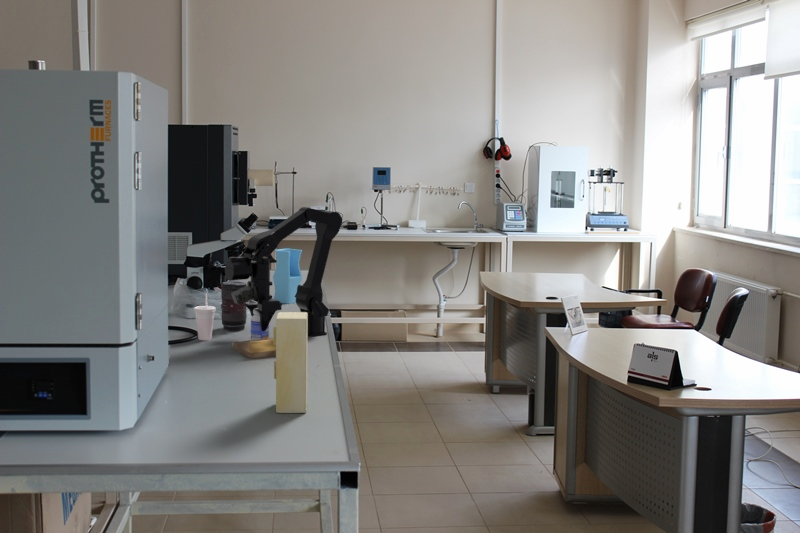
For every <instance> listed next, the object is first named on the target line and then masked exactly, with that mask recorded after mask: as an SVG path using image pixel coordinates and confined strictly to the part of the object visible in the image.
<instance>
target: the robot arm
mask: <svg viewBox="0 0 800 533" xmlns="http://www.w3.org/2000/svg"><path fill="white" fill-rule="evenodd" d="M308 222H311V223H314V224H315V225H314V227H315V228H314V230H315V234H316V240H315V242H314V243H315V244H314V248H313V252H312V255H311V258H310V263H309V266H308V272H307V275H306V279H305V281H304V283H303V284H302V285H301V284H300V285H298V287H297V293H296V295H295V297H296V303H295V304H296V306H297V307H298V308H299V312H307V313H308V336H307V337H313V336H315V337H316V336H322V335H328V332H326V328H325V327H326V324H325V323H326V317H327V316H328V315H329V311H330V309H329V308H328V306H326V305H325V303H323V299H324V298H323V297H324V293H323V287H322V282H323V277H324V273H325V272H326V271H325V270H326V267H327V266H326V265H327V262H328V258H329V255H330V250H331V246H332V242H333V240H334V239H335V238H336V236H337V235H338V234H339V232H340V229H341V227H342V224H343V217H342V215H341V213H339V212H337V211H331V210H326V209H325V210H319V209H315V208H313V207H308V206H302V207H300V208H299V209H298V210H297V211H296V212H295V213H293V214H291V215H290V216H289V217H287V218H286V219H284V220H282V221H281V222H280V223H278V224H277V225H275V226H273V227H272V228H271V229H269V230H266V231H262V232H259V233H258V234H255V235H253V236H251V237H250V238H249V239H248V240H247V241H248V242H247V246H246V247H245V249H244V250H243V251H242V253H241V255H240V256H229V257H228V261H227V262H226V264H225V267H224V274H225V277H226V280H228V281H240V280H241V281H242V280H248V279H249V278H250V280H248V281H247V282H246V284H247V287H244V288H241V289H239V290H237V291H234V292H232V293H231V295H232V298H233V300H234V303H236V304H238V305H241V304H243V303H244V302H246V304H244V306H246V309H248V310H249V313H250V316H251V317H252V316H254V314H253V309H255V308H258V309H255V310H256V311H257V312H258V313H259V315H260V322H261V329H262V331H266V329H267V327H268V325H269V326H270V323H271V321H272V319H273V317H274V315H275V314H276V312H278V311H281V310H282V307H283V306H282V304H283V303H281V302H280V301H278V300H276V299H274V298H273V295H272V294H270V293H271V291H270V290H271V287H270V286H273V281H271V264H274V263H275V264H277V259H276V258H274V257H273V255H272V253H273V252H274V251H275V250H277V248H278V247H279V245H280V243H281V242H282V241H283V240H285V239H286V238H287V237H288V236H290V235H292V234H293V233H294V232H296V231H297V230H299V229H300V228H302V227H303V226H304V225H306V224H307V223H308Z"/></svg>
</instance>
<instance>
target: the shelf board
mask: <svg viewBox="0 0 800 533" xmlns="http://www.w3.org/2000/svg"><path fill="white" fill-rule="evenodd" d="M232 349H234V350H236V351H237V352H239V353H240V354H243V355H244V356H246V357H247V358H249V359H257V358H259V359H260V358H267V357H276V345H273V338H269V339H263V340H253V341H251V340H246V341H235V342H232Z"/></svg>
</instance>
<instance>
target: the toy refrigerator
mask: <svg viewBox="0 0 800 533" xmlns="http://www.w3.org/2000/svg"><path fill="white" fill-rule="evenodd" d="M272 330H273V338H272V339H273V345H276V356H275V361H274V362H273V363H274V364H273V370H274V371H273V378H274V380H275V413H276V414H277V413H278V414H305V413H307V409H308V407H307V406H308V337H309V336H308V313H307V312H301V311H297V312H295V311H281V312H278V313H277V316H276V319H275V326H274V327H273V329H272Z"/></svg>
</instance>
